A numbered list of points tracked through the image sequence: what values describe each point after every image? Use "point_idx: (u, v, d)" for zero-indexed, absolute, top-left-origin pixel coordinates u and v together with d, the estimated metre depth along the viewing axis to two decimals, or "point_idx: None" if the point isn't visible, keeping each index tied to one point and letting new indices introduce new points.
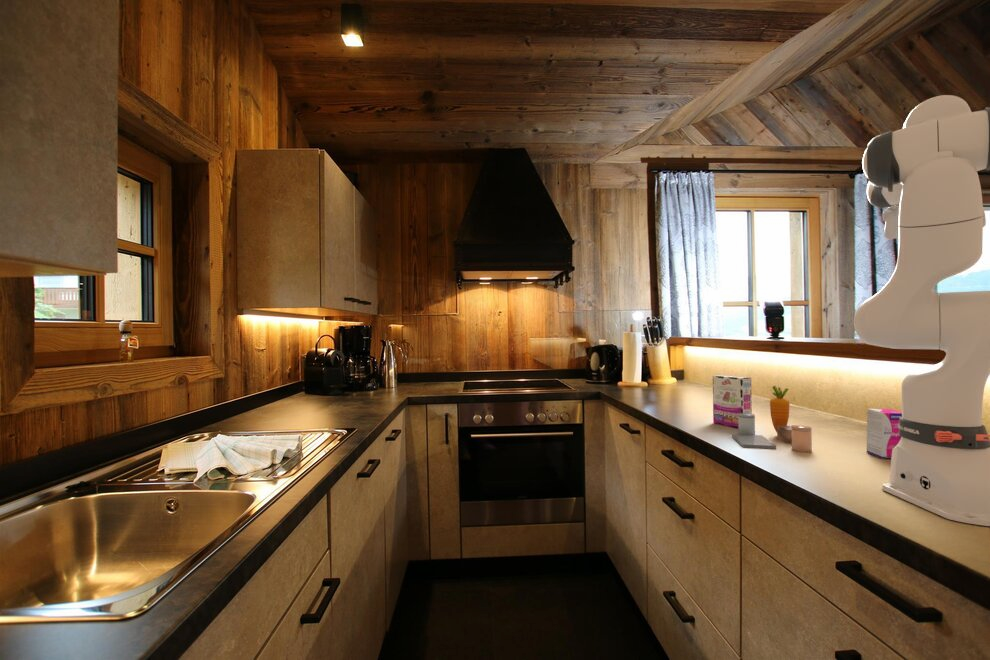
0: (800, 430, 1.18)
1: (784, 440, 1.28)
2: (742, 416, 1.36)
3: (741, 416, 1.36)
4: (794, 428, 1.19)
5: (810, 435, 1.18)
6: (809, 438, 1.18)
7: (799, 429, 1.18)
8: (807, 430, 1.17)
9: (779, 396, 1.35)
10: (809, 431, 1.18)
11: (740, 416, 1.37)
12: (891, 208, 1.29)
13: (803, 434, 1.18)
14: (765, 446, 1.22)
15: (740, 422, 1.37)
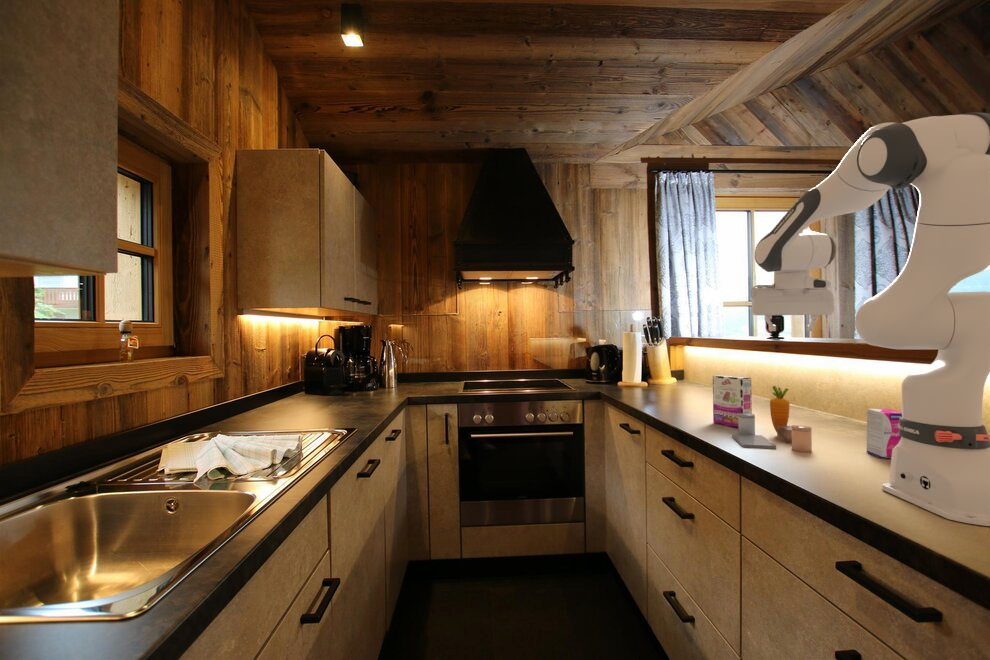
0: (800, 430, 1.18)
1: (784, 440, 1.28)
2: (742, 416, 1.36)
3: (741, 416, 1.36)
4: (794, 428, 1.19)
5: (810, 435, 1.18)
6: (809, 438, 1.18)
7: (799, 429, 1.18)
8: (807, 430, 1.17)
9: (779, 396, 1.35)
10: (809, 431, 1.18)
11: (740, 416, 1.37)
12: (759, 285, 1.33)
13: (803, 434, 1.18)
14: (765, 446, 1.22)
15: (740, 422, 1.37)
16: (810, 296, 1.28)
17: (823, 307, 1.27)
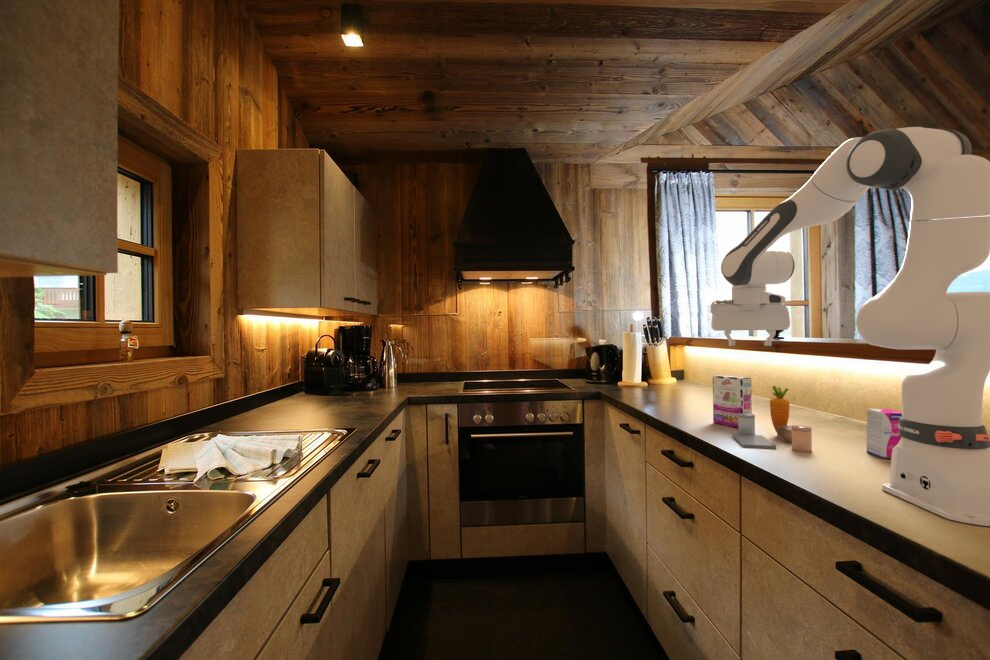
0: (800, 430, 1.18)
1: (784, 440, 1.28)
2: (742, 416, 1.36)
3: (741, 416, 1.37)
4: (794, 428, 1.19)
5: (810, 435, 1.18)
6: (809, 438, 1.18)
7: (799, 429, 1.18)
8: (807, 430, 1.17)
9: (779, 396, 1.35)
10: (809, 431, 1.18)
11: (740, 416, 1.37)
12: (718, 301, 1.35)
13: (803, 434, 1.18)
14: (765, 446, 1.22)
15: (740, 422, 1.37)
16: (766, 311, 1.30)
17: (780, 322, 1.29)
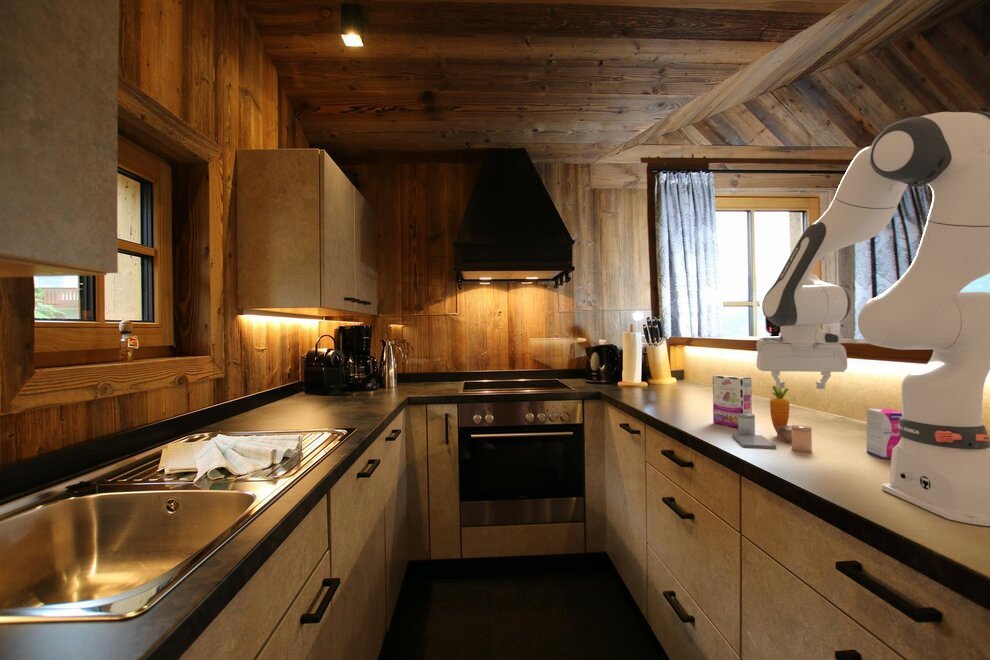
0: (800, 430, 1.18)
1: (784, 440, 1.28)
2: (742, 416, 1.36)
3: (741, 416, 1.36)
4: (794, 428, 1.19)
5: (810, 435, 1.18)
6: (809, 438, 1.18)
7: (799, 429, 1.18)
8: (807, 430, 1.17)
9: (779, 396, 1.35)
10: (809, 431, 1.18)
11: (740, 416, 1.37)
12: (765, 338, 1.21)
13: (803, 434, 1.18)
14: (765, 446, 1.22)
15: (740, 422, 1.37)
16: (821, 351, 1.17)
17: (836, 363, 1.16)
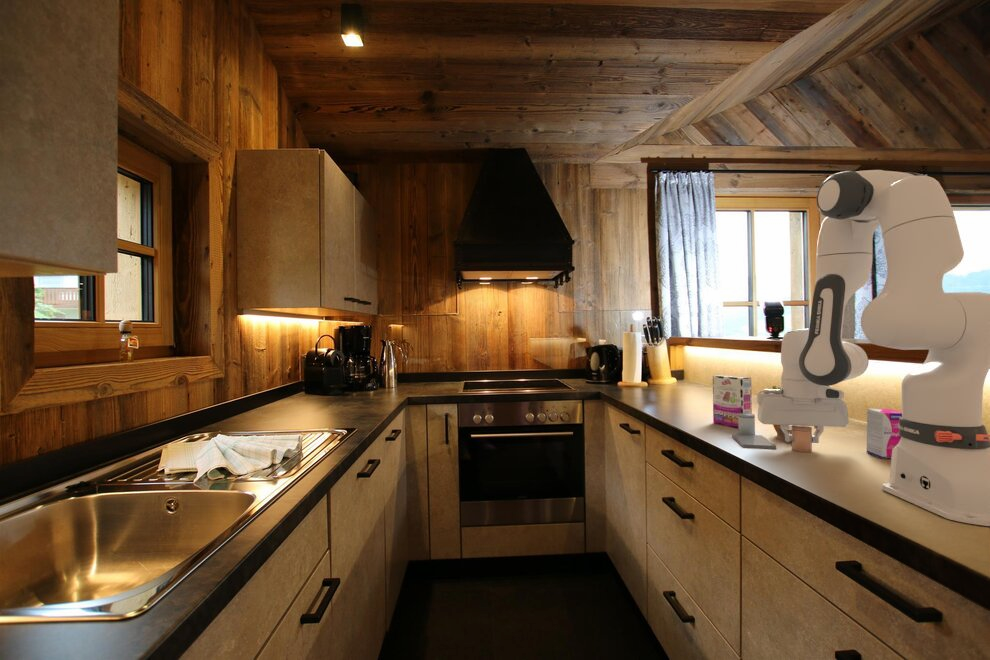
0: (800, 430, 1.18)
1: (784, 440, 1.28)
2: (742, 416, 1.36)
3: (741, 416, 1.37)
4: (794, 428, 1.19)
5: (810, 435, 1.18)
6: (809, 438, 1.18)
7: (799, 429, 1.18)
8: (807, 430, 1.17)
9: None
10: (809, 431, 1.18)
11: (740, 416, 1.37)
12: (766, 391, 1.21)
13: (803, 434, 1.18)
14: (765, 446, 1.22)
15: (740, 422, 1.37)
16: (822, 405, 1.17)
17: (837, 418, 1.16)
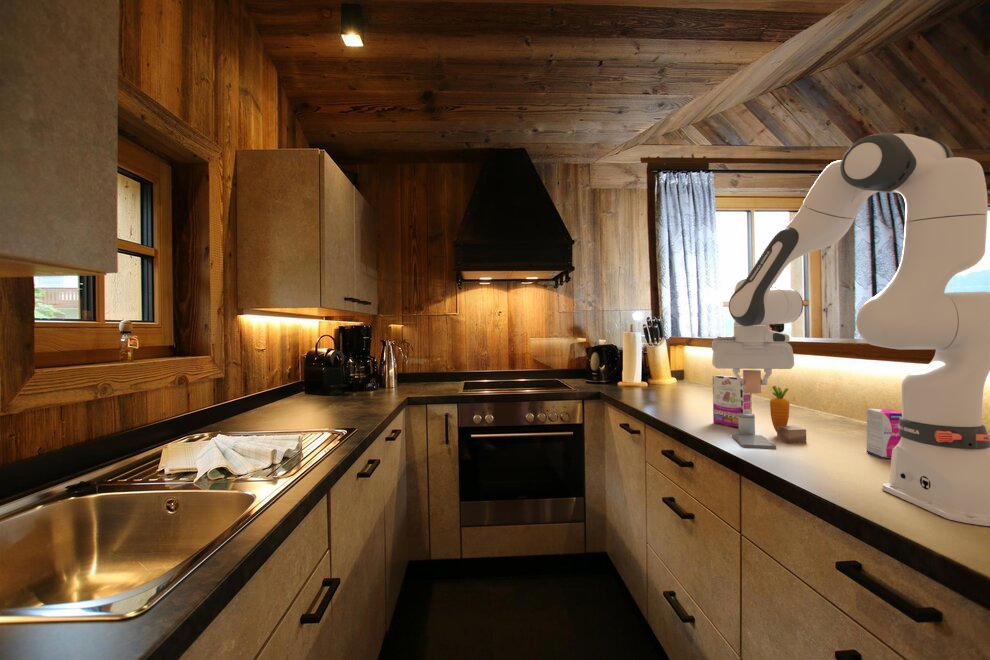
0: (750, 373, 1.26)
1: (784, 440, 1.28)
2: (742, 416, 1.36)
3: (741, 416, 1.36)
4: (745, 371, 1.28)
5: (759, 377, 1.26)
6: (758, 380, 1.26)
7: (749, 372, 1.26)
8: (756, 372, 1.26)
9: (779, 396, 1.35)
10: (758, 373, 1.26)
11: (740, 416, 1.37)
12: (719, 337, 1.30)
13: (752, 376, 1.26)
14: (765, 446, 1.22)
15: (740, 422, 1.37)
16: (770, 349, 1.25)
17: (783, 361, 1.24)
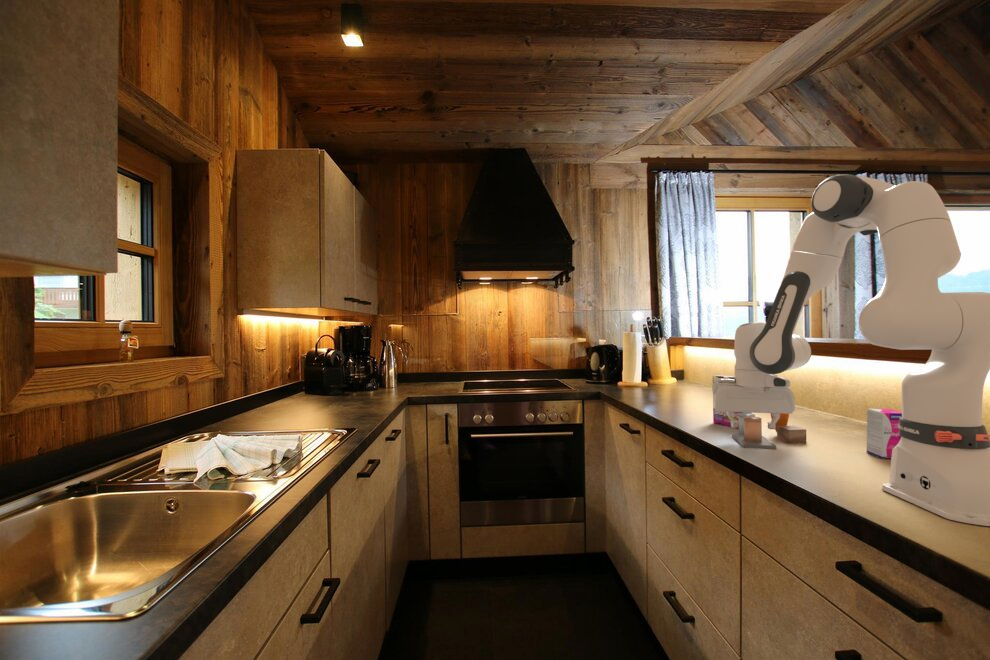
0: (750, 421, 1.26)
1: (785, 440, 1.28)
2: (742, 416, 1.36)
3: (741, 416, 1.36)
4: (745, 419, 1.28)
5: (760, 425, 1.26)
6: (759, 428, 1.26)
7: (750, 420, 1.26)
8: (757, 421, 1.26)
9: None
10: (759, 421, 1.26)
11: (740, 416, 1.37)
12: (720, 380, 1.30)
13: (753, 424, 1.26)
14: (765, 446, 1.22)
15: (740, 422, 1.37)
16: (771, 394, 1.25)
17: (784, 406, 1.24)
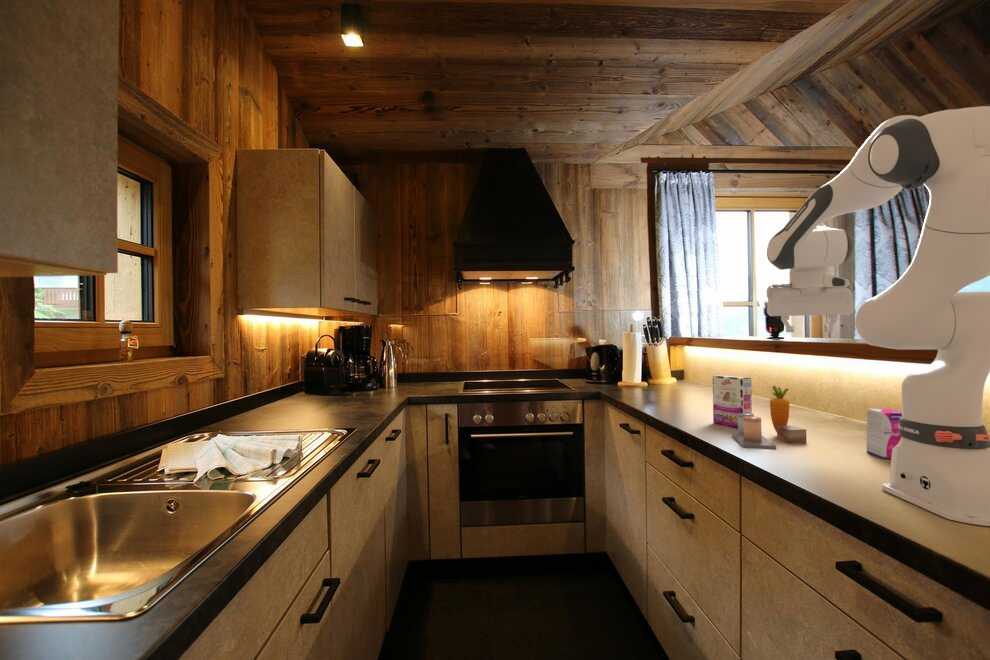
0: (750, 420, 1.26)
1: (785, 440, 1.28)
2: (742, 416, 1.36)
3: (741, 416, 1.36)
4: (745, 419, 1.28)
5: (760, 425, 1.26)
6: (759, 428, 1.26)
7: (749, 420, 1.27)
8: (757, 420, 1.26)
9: (779, 396, 1.35)
10: (759, 421, 1.26)
11: (740, 416, 1.37)
12: (775, 284, 1.28)
13: (753, 424, 1.26)
14: (765, 446, 1.22)
15: (740, 422, 1.37)
16: (828, 295, 1.23)
17: (842, 306, 1.22)
